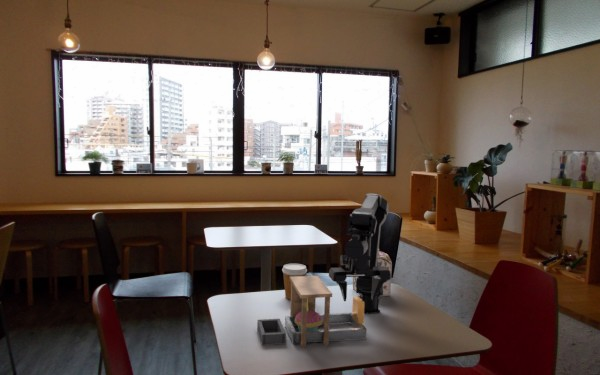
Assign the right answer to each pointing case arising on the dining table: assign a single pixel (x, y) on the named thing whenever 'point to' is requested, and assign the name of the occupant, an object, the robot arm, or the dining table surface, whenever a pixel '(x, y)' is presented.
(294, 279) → the small wooden table
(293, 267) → the disposable coffee cup
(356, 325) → the grey shallow tray
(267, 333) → the box
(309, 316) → the cupcake
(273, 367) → the dining table surface
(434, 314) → the dining table surface
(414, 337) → the dining table surface
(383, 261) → the decorative jar
